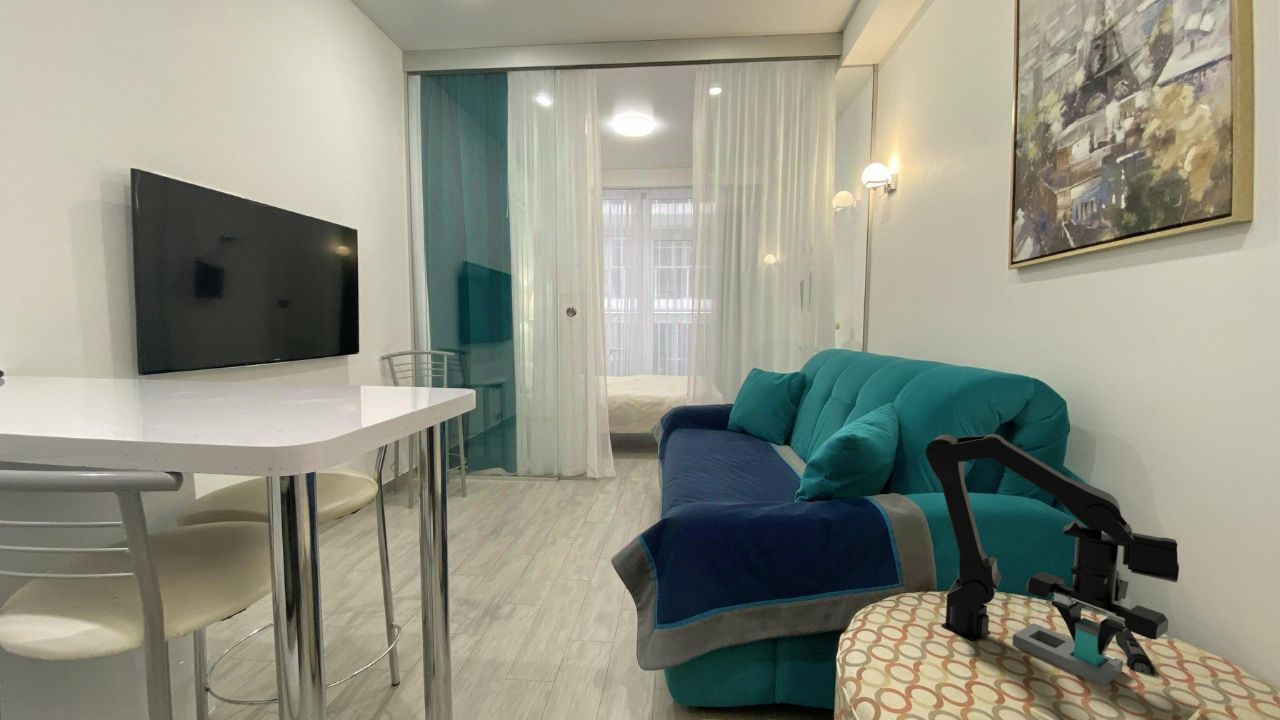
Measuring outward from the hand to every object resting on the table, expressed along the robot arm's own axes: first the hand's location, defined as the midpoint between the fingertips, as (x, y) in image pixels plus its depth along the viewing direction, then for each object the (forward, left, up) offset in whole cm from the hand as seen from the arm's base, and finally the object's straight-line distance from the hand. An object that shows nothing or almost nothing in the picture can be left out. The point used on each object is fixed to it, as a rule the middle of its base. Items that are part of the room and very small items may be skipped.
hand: (1089, 649), depth 98 cm
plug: (0, 0, -2) cm, 2 cm away
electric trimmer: (+2, +13, -5) cm, 14 cm away
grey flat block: (-3, 0, -4) cm, 5 cm away
